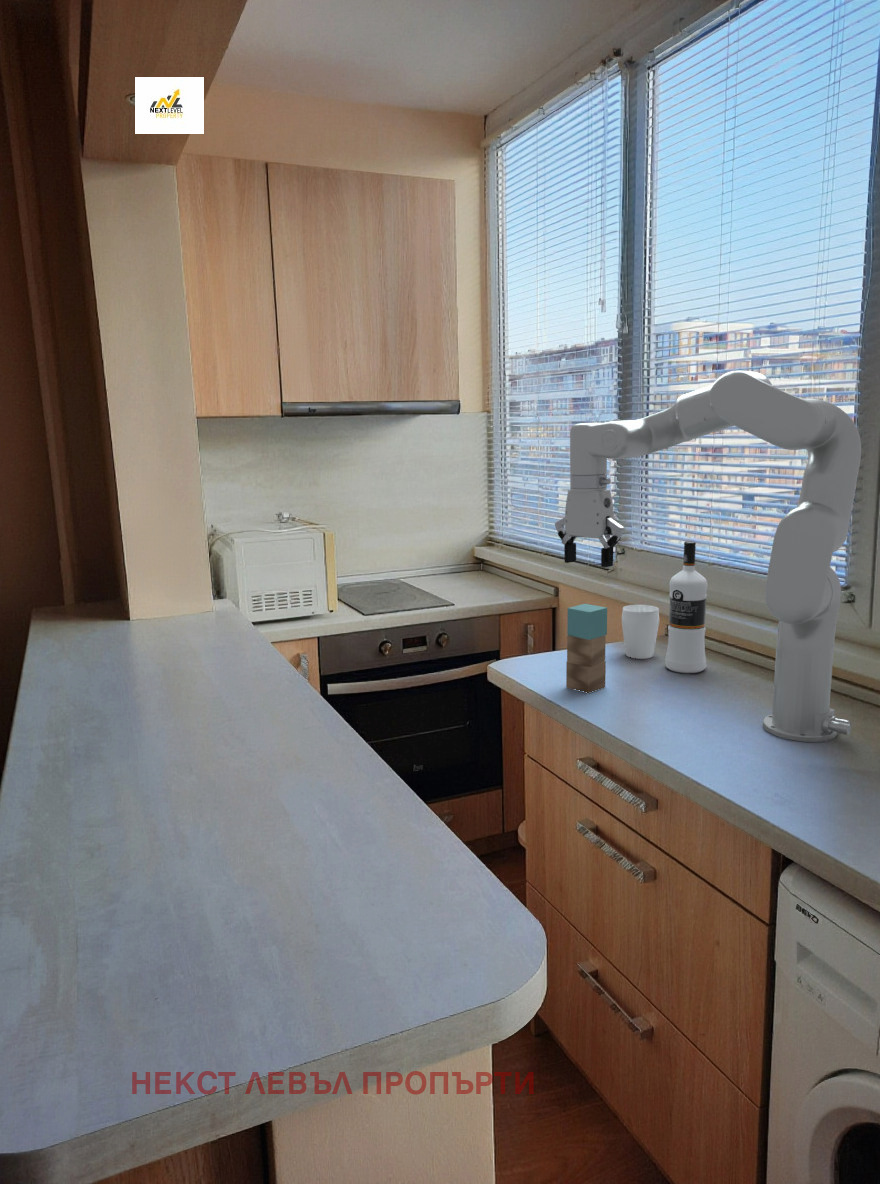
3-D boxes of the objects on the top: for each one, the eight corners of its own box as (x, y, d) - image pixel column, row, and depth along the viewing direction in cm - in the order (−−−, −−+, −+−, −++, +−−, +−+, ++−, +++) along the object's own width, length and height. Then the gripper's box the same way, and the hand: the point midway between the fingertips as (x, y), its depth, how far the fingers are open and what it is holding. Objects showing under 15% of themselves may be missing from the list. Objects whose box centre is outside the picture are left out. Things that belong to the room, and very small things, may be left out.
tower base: (605, 687, 178) (605, 661, 177) (588, 694, 174) (588, 667, 173) (583, 681, 183) (583, 656, 181) (566, 687, 179) (566, 661, 178)
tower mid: (605, 660, 178) (605, 633, 176) (591, 667, 173) (591, 639, 172) (581, 656, 181) (581, 630, 180) (567, 662, 177) (567, 635, 176)
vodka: (714, 670, 188) (720, 541, 182) (685, 676, 184) (689, 545, 178) (685, 660, 196) (689, 537, 190) (656, 666, 192) (660, 540, 186)
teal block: (606, 634, 176) (607, 607, 175) (589, 639, 172) (589, 612, 171) (584, 630, 180) (585, 603, 179) (567, 635, 176) (567, 608, 175)
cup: (662, 660, 197) (663, 612, 195) (624, 660, 197) (625, 612, 195) (653, 650, 206) (654, 604, 204) (617, 650, 206) (618, 604, 204)
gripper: (633, 483, 166) (633, 565, 169) (567, 481, 178) (567, 558, 182) (611, 485, 161) (611, 570, 164) (544, 483, 173) (545, 562, 177)
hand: (588, 564), depth 173 cm, fingers open, 9 cm apart
